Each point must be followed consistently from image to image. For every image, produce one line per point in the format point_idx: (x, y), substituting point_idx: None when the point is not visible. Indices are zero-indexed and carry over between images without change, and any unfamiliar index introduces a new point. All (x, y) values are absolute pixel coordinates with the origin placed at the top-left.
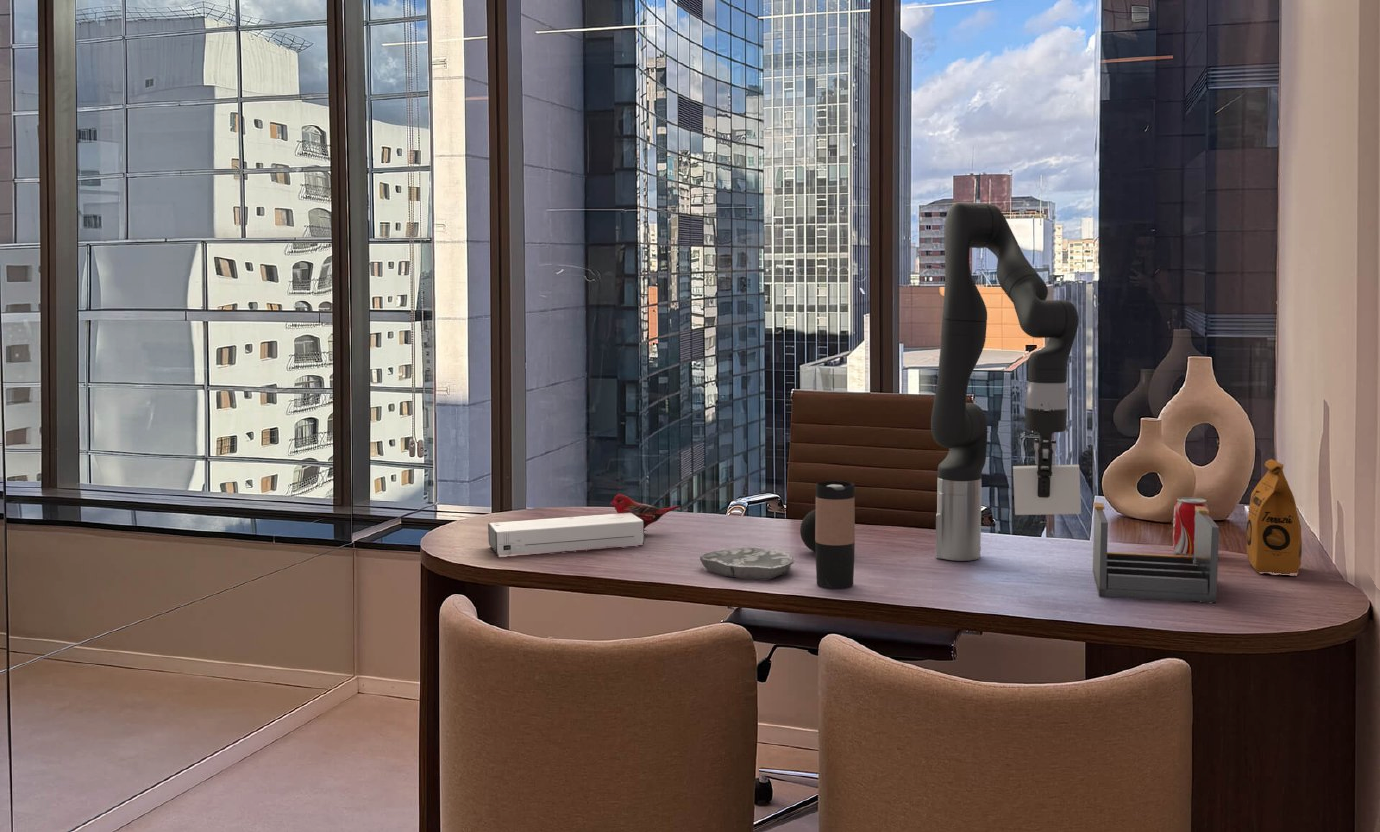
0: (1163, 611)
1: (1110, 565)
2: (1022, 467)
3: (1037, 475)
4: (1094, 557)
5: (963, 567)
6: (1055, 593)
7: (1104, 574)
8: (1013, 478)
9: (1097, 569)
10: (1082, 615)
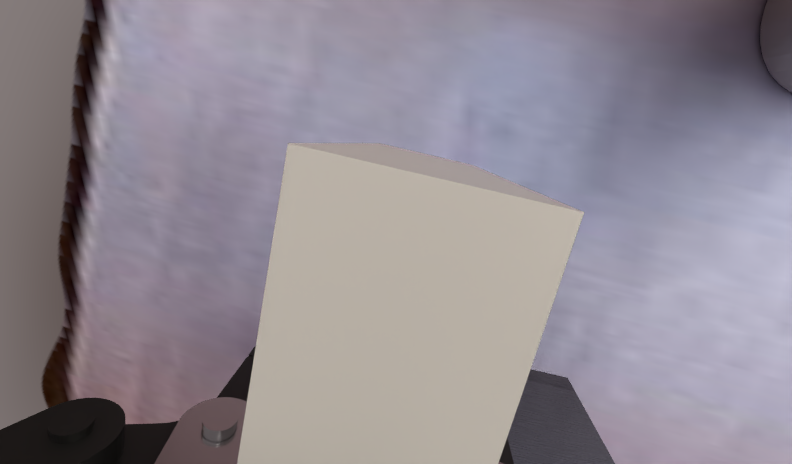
0: None
1: None
2: (362, 325)
3: (221, 412)
4: (526, 399)
5: (670, 9)
6: None
7: None
8: (329, 143)
9: None
10: (141, 236)
